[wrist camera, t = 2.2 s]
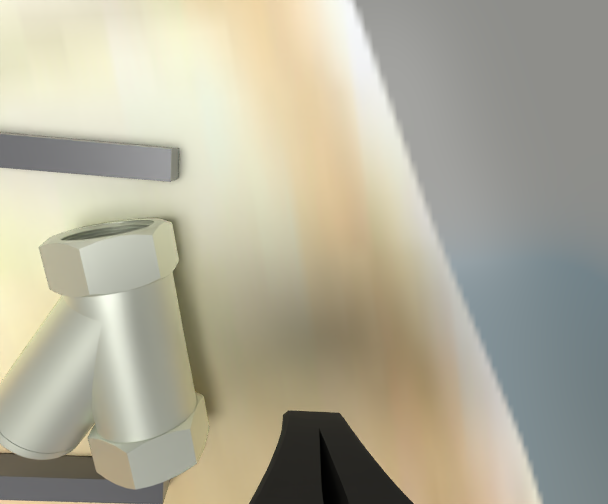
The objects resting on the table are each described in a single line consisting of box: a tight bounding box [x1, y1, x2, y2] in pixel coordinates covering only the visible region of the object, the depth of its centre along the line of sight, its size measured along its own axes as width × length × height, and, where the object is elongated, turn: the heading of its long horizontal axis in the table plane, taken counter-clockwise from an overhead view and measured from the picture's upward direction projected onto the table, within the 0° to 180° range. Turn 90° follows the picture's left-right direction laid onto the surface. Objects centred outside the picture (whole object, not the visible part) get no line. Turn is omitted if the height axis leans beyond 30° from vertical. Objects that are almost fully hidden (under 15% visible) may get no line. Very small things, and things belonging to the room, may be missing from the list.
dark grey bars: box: [0, 132, 179, 504], centre depth 16 cm, size 13×8×1 cm, turn 175°
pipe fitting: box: [0, 218, 209, 490], centre depth 15 cm, size 8×4×7 cm
